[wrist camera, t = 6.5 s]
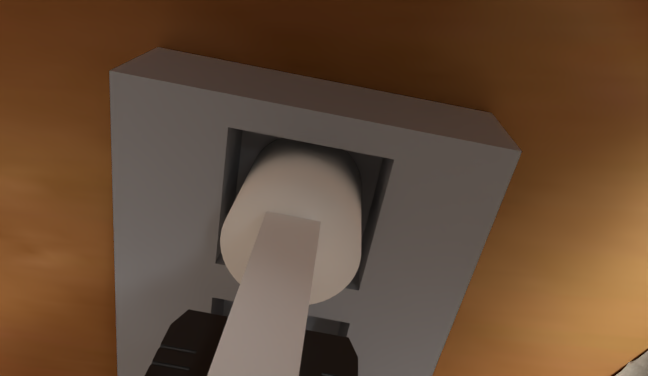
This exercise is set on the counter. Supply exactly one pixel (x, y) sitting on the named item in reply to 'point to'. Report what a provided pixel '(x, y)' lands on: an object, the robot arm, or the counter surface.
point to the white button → (300, 209)
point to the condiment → (636, 367)
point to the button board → (237, 160)
